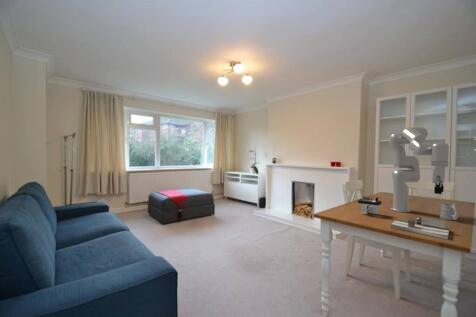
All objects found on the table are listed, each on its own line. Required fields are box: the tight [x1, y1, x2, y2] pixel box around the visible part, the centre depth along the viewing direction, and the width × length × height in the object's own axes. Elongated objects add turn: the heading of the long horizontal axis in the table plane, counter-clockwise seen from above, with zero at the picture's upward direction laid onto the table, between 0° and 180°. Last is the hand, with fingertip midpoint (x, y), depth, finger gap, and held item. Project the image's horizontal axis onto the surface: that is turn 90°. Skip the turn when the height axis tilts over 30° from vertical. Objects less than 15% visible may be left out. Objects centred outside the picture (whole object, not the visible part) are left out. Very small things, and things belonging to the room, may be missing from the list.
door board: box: [390, 217, 450, 240], centre depth 132 cm, size 18×25×6 cm
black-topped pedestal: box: [357, 195, 382, 215], centre depth 165 cm, size 28×26×13 cm
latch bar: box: [416, 216, 447, 229], centre depth 132 cm, size 13×3×4 cm, turn 44°
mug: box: [438, 202, 459, 221], centre depth 151 cm, size 8×12×12 cm, turn 176°
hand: (438, 192), depth 134 cm, fingers open, 9 cm apart
